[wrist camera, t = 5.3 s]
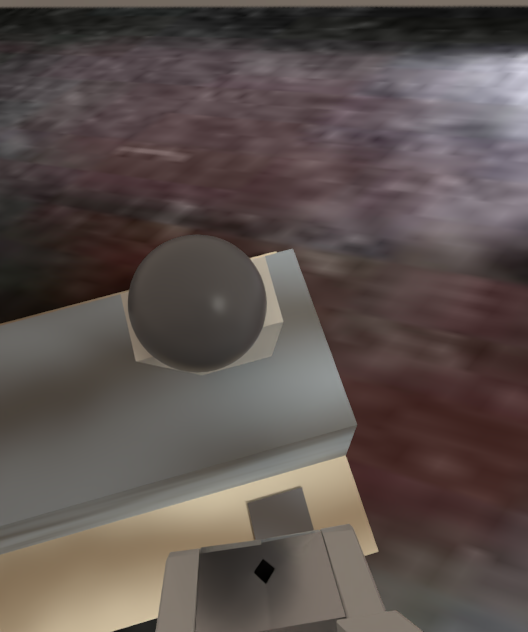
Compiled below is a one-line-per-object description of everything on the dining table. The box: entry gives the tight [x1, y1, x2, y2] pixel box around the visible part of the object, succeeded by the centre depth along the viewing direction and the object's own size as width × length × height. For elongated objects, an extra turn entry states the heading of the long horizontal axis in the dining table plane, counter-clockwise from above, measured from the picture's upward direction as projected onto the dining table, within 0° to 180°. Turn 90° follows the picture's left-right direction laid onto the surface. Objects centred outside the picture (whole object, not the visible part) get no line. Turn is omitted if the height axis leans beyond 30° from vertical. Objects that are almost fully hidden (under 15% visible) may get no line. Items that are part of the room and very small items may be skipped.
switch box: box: [0, 249, 378, 632], centre depth 22 cm, size 18×26×7 cm
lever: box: [121, 235, 283, 375], centre depth 13 cm, size 3×3×12 cm
